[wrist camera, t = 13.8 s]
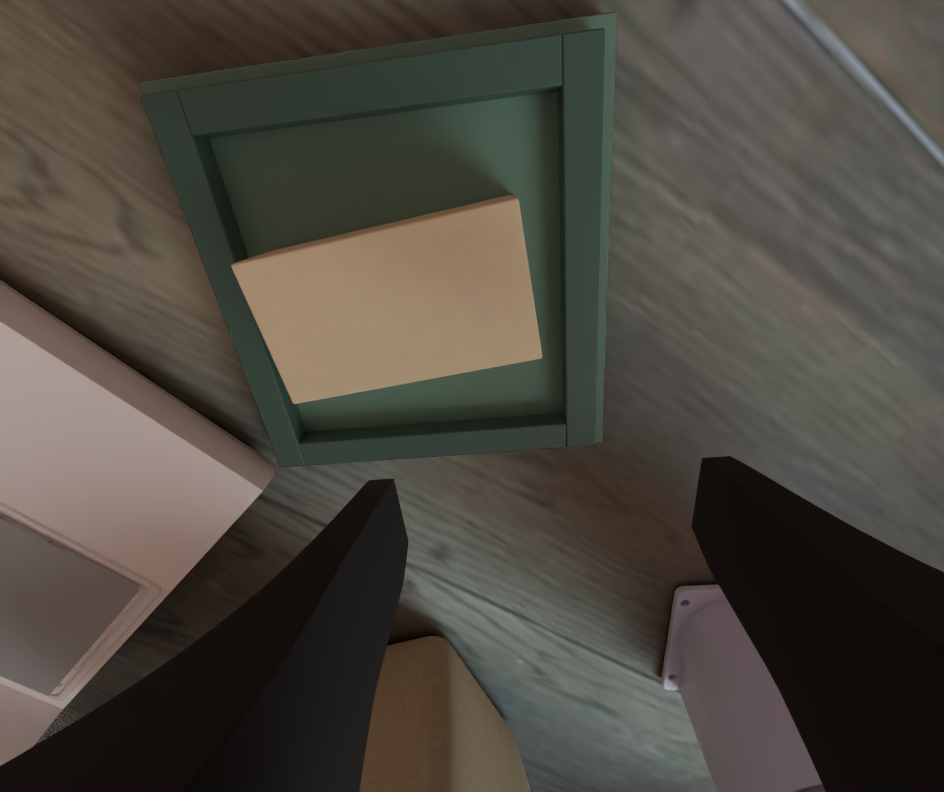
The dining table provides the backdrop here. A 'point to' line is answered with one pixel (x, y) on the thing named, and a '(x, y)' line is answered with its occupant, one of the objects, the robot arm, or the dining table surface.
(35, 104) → the dining table surface
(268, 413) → the green square tray
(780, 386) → the dining table surface
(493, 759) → the flower pot
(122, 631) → the laptop
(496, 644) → the dining table surface
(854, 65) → the dining table surface
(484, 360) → the rectangular block
